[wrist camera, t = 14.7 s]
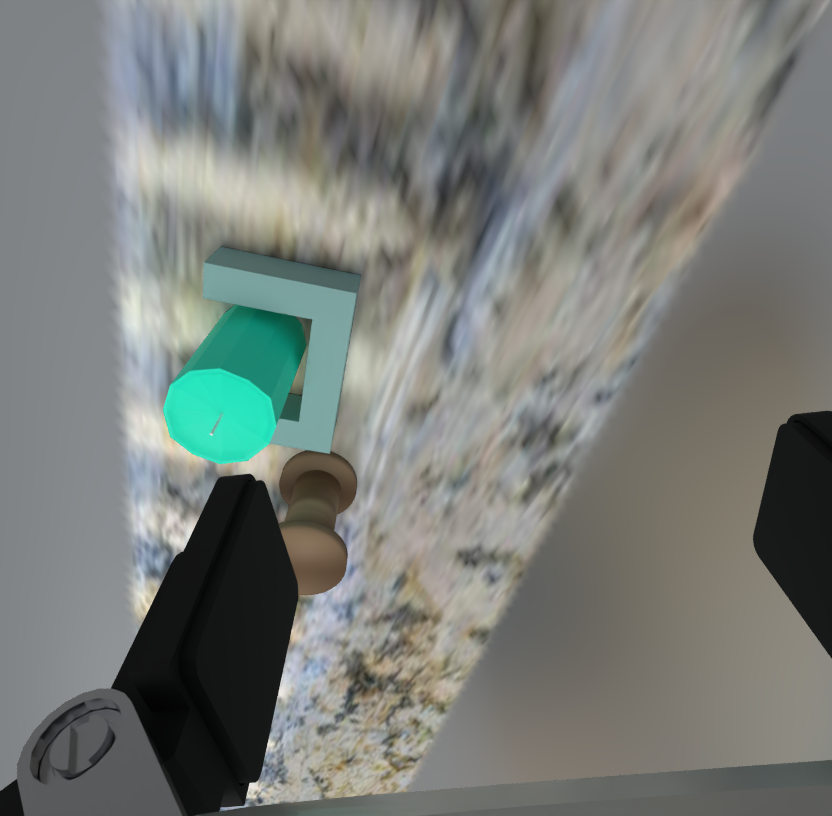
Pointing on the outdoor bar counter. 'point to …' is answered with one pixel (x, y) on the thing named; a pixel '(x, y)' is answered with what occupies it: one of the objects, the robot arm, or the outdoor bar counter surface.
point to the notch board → (329, 339)
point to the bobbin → (316, 517)
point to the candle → (235, 385)
